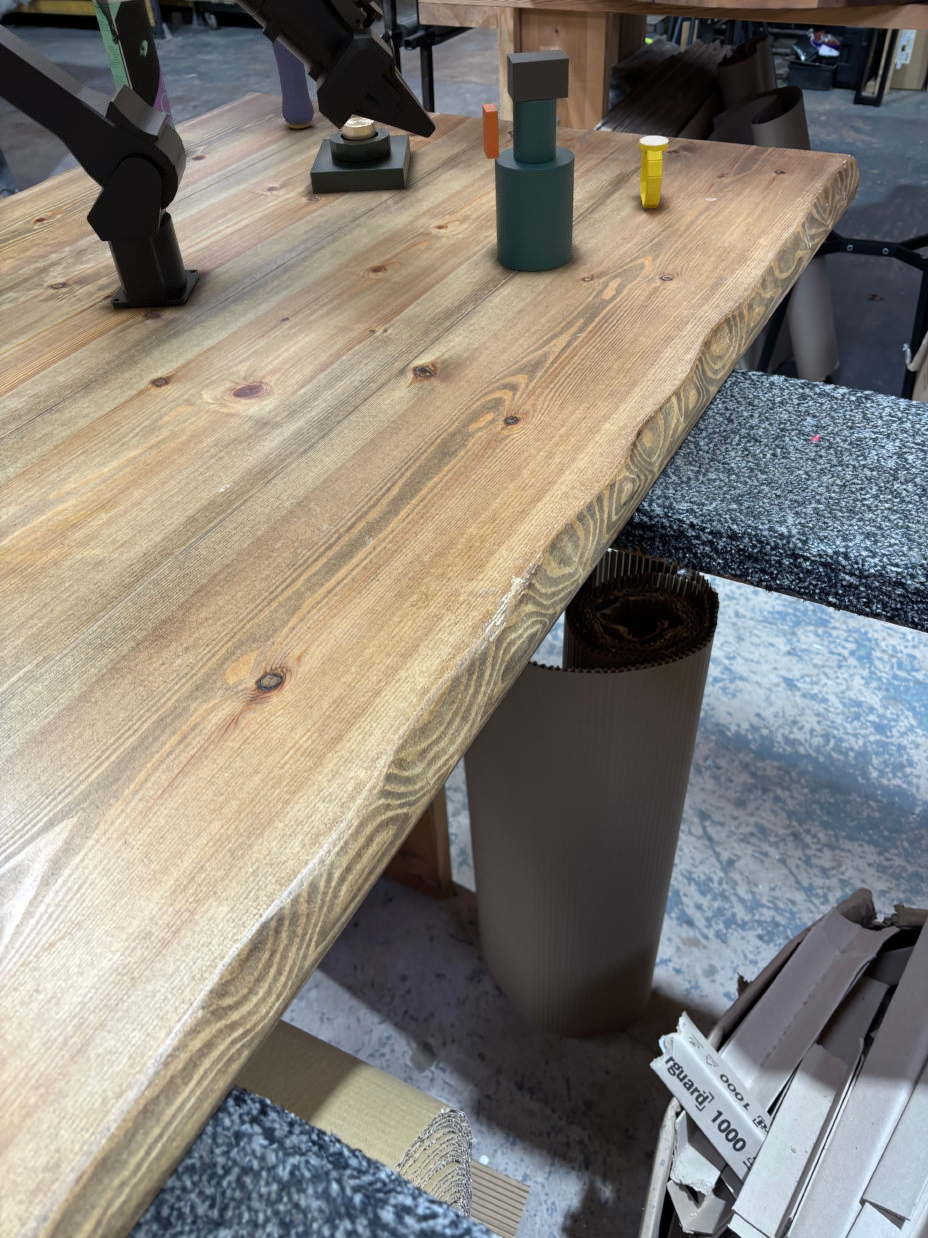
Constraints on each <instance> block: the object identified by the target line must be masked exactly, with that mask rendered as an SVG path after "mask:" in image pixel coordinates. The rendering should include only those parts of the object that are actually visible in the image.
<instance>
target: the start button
mask: <svg viewBox="0 0 928 1238" xmlns="http://www.w3.org/2000/svg"><path fill="white" fill-rule="evenodd" d="M375 127H376V125H375V121H373V120H370V119H367V118H363V117H360V116H357V117H352V118H351V117H350V118H349V120H348V121H347V122H346V124H345V125H344V126H343V127H342V128H341V130H342V133H343V140H347V141H364V140H368V139H373V138H375V137H376V132H375Z"/></svg>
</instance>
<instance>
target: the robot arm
mask: <svg viewBox="0 0 928 1238" xmlns="http://www.w3.org/2000/svg"><path fill="white" fill-rule="evenodd" d="M233 1H234V2H235V3H236V4H237V5H239V6H240V7H241V8H242V9H243V10H244V11H245V12H246V13H247V14H248V15H250V17H252V18H253V19H254V20H255V21H256V22H257V23H258V24H259V25H260V26H262V32H261V33H262V34H263V36H265V37H266V38H267V39H268V40H269V41H270V42H271V43H272V42H273V43H274V42H275V40H276V39H277V40H278V41H279V42H280V43H281V44H283V45H284V46H285V47H286V48H287V49H288V50H289V51H290V52H291V53H292V54H294V55H295V56H296V57H297V58H298V59H299V60H300V61H301V62H302V63H303V64H304V66H305V67H306V68H307V74H306V75H307V76H309V77H310V78H311V79H312V80H314V82H315V83H316V99H317V106H318V112H319V113H320V114H321V115H322V116H323V117H324V118H325V119H326V120H328V121H329V122H330V123H331V124H332V125H334V126H335V127H336V128H337V129H338V131H339V130H342V127H343V126H344V125H345V124H346V122H347V121H348V120H349V119H351V117H352V116H357V117H363V118H367V119H370V120H373V121H374V122H377V123H380V124H382V125H386V126H389V127H393V128H395V129H398V130H402V131H405V132H408V133H411V134H413V135H417V136H418V137H419V136H420V137H423V138H426V139H429V138H431V136H432V135H433V133H435V131H436V129H437V127H436V124H435V122H434V121H433V119H432V117H431V116H430V114H428V112H427V110H426V109H425V107H424V106H423V105H422V103H421V101H420V100H419V99H418V97H417V96H416V94H415V93H414V92H413V90H412V89H411V87H410V86H409V84H408V82H407V81H406V79H405V78H404V77H403V75H402V74H401V72H400V71H399V69H398V68H397V66H396V58H395V47H394V43H393V40H392V35H391V31H390V29H389V28H387V29H386V30H385V31H384V32H383V33H382V35H381V36H380V35H379V34H378V33H377V32H376V31H375V30H374V29H373V28H372V25H373V24H374V23H375V21H377V22H378V23H380V22H381V20H382V19H383V18H384V13H383V10H382V8H381V7H380V6H378V4H376V2H375V0H233ZM0 99H1V100H3V101H4V102H6V103H7V104H9V106H11V107H13V108H14V109H16V110H17V111H19V112H20V113H21V114H23V115H24V116H26V117H28V118H29V119H30V120H32V121H33V122H34V123H36V124H37V125H39V126H41V127H42V128H43V129H44V130H46V131H48V132H49V133H50V134H52V135H53V136H55V137H56V138H57V139H58V140H59V141H60V142H61V143H62V144H63V145H64V146H65V148H66V150H68V151H69V152H70V154H71V155H72V156H73V158H74V159H75V161H76V162H77V163H78V165H80V167H81V168H82V169H83V171H84V172H85V173H86V174H87V176H89V177H90V178H91V179H92V180H93V182H95V183H96V184H97V185H99V186H100V187H101V190H100V191H99V193H98V195H97V196H96V199H95V200H94V202H93V204H92V206H91V208H90V209H89V212H88V213H87V215H86V221H87V223H88V224H89V225H90V227H91V229H92V230H93V231H94V233H95V234H96V236H97V237H98V238H99V240H100V241H101V242H107V244H108V248H109V250H110V254H111V257H112V260H113V264H114V266H115V270H116V273H117V275H118V280H119V283H120V286H119V288H118V290H117V291H116V292H115V294H114V295H113V297H112V298H111V300H110V303H111V306H112V307H113V308H122V307H123V308H125V307H145V306H147V307H148V306H149V307H150V306H170V305H182V304H185V303H186V302H187V300H188V298H189V296H190V295H191V292H192V290H193V289H194V287H195V285H196V282H197V281H198V279H199V277H200V272H199V270H198V269H186V268H185V264H184V260H183V256H182V253H181V248H180V246H179V241H178V237H177V232H176V230H175V226H174V221H173V218H172V215H171V213H170V212H169V211H167V208H168V207H169V206H170V205H171V204H172V203H173V202H174V200H175V198H176V195H177V193H178V190H179V187H180V185H181V181H182V179H183V176H184V173H185V171H186V168H187V154H186V149H185V145H184V142H183V139H182V137H181V136H180V134H179V133H178V132H177V130H176V131H175V130H174V129H173V128H172V127H171V126H170V125H169V124H167V120H168V118H169V114H167V113H164V112H161V111H158V110H156V109H154V108H152V107H151V106H149V105H148V104H147V103H145V102H144V101H143V100H142V99H141V98H140V97H139V96H138V95H137V94H136V93H135V92H134V91H133V90H132V89H131V88H130V87H128V86H127V85H126V84H124V83H123V84H121V85H120V87H119V88H118V90H117V89H116V91H115V93H114V94H113V96H111V95H107V93H102V92H99V91H96V90H94V89H92V88H90V87H88V86H86V85H84V84H83V83H81V82H80V81H79V80H77V79H76V78H75V77H73V76H72V75H71V74H69V73H68V72H66V71H65V70H64V69H62V68H61V67H59V66H58V65H57V64H55V63H54V62H53V61H51V60H50V59H48V57H46V56H45V55H43V54H41V53H40V52H39V51H38V50H37V49H35V48H33V47H32V46H31V45H29V44H28V43H27V42H25V41H24V40H23V39H21V38H19V37H18V35H16V34H14V33H13V32H11V31H10V30H9V29H7V28H6V27H4V25H2V24H0Z"/></svg>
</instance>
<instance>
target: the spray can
mask: <svg viewBox="0 0 928 1238" xmlns="http://www.w3.org/2000/svg"><path fill="white" fill-rule="evenodd" d="M91 1H92V4H93V8H94V12H95V15H96V19H97V23H98V26H99V31H100V34H101V37H102V38H101V39H102V41H103V45H104V48H105V53H106V55H107V59H108V62H109V67H110V70H111V74H112V78H113V81H114V85H115V89H116V91H117V90H118V88H119V87H120V85H121V84H123V83H124V84H126V85H127V86H128V87H130V88H131V89H132V90H133V91H134V92H135V93H136V94H137V95H138V96H139V97H140V98H141V99H142V100H143V101H144V102H145V103H147V104H148V105H149V106H151V107H152V108H154V109H156V110H158V111H161V112H164V113H167V114H169V118H168V120H167V124H169V125H170V126H171V127H172V128H173V129H174V130H175V131H176V132H177V130H176V126H175V125H176V124H175V120H174V116H173V113H172V109H171V105H170V101H169V96H168V92H167V88H166V85H165V84H166V83H165V80H164V76H163V71H162V66H161V63H160V58H159V55H158V51H157V47H156V42H155V38H154V34H153V30H152V26H151V21H150V17H149V13H148V8H147V5H146V0H91Z"/></svg>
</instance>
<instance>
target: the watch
mask: <svg viewBox="0 0 928 1238" xmlns="http://www.w3.org/2000/svg"><path fill="white" fill-rule="evenodd" d="M669 142H670V141H669V138H668V137H666V136H662V135H647V136H643V137H641V138H639V141H638V149H639V150H640V151H642V153H641V160H640V161H641V162H640V178H639V191H640V192H639V193H640V194H639V197H640V199H641V205H642V208H643V209H656V208H658V206H659V204H660V200H661V192H662V186H663V185H662V183H663V163H664V162H663V152H664V151H667V150H668V148H669Z"/></svg>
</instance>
